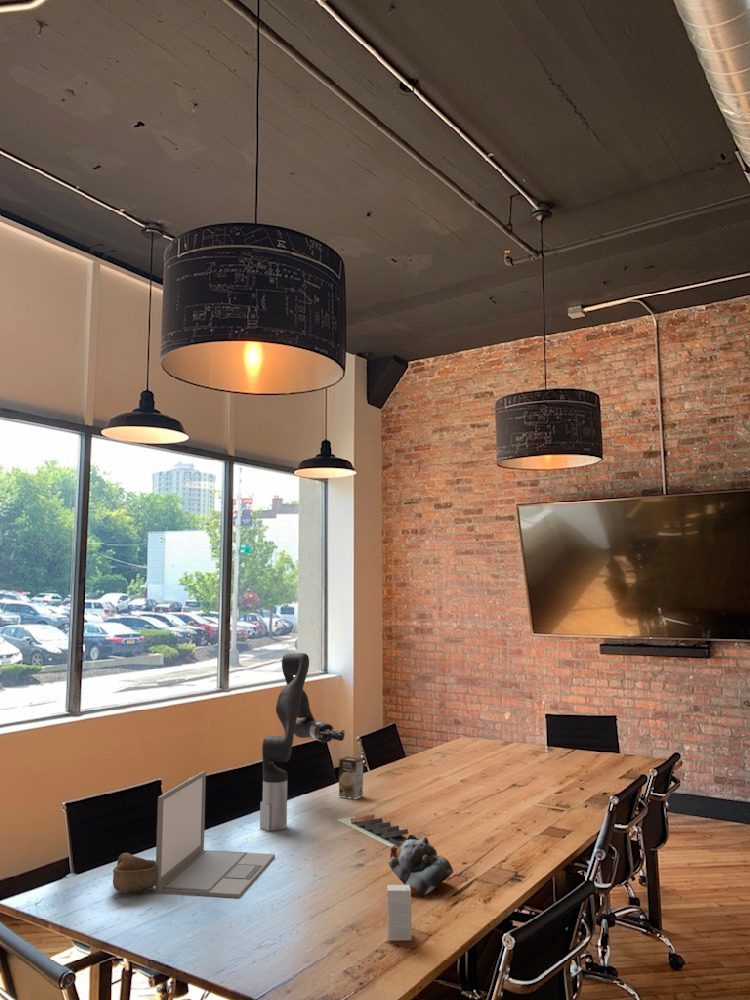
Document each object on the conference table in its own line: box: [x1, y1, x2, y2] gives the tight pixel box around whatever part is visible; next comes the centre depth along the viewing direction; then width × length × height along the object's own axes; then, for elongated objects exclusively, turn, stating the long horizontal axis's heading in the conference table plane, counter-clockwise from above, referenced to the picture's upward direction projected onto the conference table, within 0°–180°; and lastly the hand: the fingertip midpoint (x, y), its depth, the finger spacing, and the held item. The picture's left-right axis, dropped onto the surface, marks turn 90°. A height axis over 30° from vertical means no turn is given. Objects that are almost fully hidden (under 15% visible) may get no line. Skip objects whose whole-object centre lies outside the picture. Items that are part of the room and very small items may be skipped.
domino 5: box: [381, 828, 409, 838], centre depth 267 cm, size 2×5×10 cm
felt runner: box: [337, 816, 397, 848], centre depth 278 cm, size 38×10×1 cm, turn 32°
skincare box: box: [386, 884, 413, 942], centre depth 192 cm, size 6×4×12 cm
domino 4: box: [373, 825, 400, 834], centre depth 272 cm, size 2×5×10 cm
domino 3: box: [365, 821, 391, 830], centre depth 276 cm, size 2×5×10 cm
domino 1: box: [350, 813, 376, 823], centre depth 286 cm, size 2×5×10 cm
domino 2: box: [358, 817, 384, 826], centre depth 281 cm, size 2×5×10 cm
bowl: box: [112, 852, 158, 896], centre depth 223 cm, size 18×14×10 cm
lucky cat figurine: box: [388, 834, 454, 898], centre depth 226 cm, size 17×14×16 cm
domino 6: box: [389, 835, 408, 848], centre depth 262 cm, size 2×5×10 cm
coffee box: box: [338, 756, 364, 798], centre depth 328 cm, size 9×6×16 cm
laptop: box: [154, 770, 276, 899], centre depth 237 cm, size 35×26×27 cm
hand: (341, 738), depth 302 cm, fingers closed
